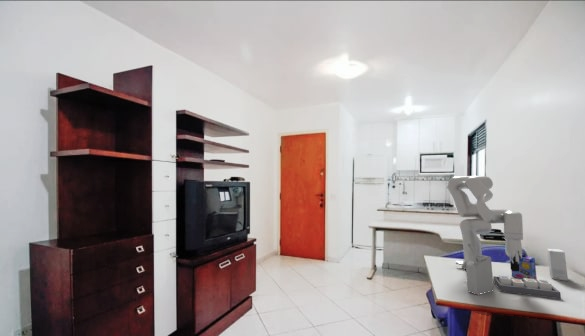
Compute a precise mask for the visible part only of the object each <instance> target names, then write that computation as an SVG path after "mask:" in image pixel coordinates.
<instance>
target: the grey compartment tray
mask: <svg viewBox="0 0 585 336" xmlns="http://www.w3.org/2000/svg"><path fill="white" fill-rule="evenodd" d="M492 277H493V283H494V282H495V283H494V284H495V285H497V286H498V287H497V286H496V287H497V288H498V290H499V289H500V290H499V292H503V291H505V292H504V293H512V294H521V295H528V296H536V297H542V298H544V297H545V298H551V299H552V298H553V299H559V300H561V299H562V296H561V292H560V291H559V290H558V289H557V288H556V287H554V286H553V285H552V290H546V289H541V288H540V287H539V286H538V288H529V287H527V286H526V285H525V284H524V286H525V287H518V286H515V285H514V284H513V283H512V282H511V285H504V284H501V283H500V282H499V276H495V275H494V276H493V275H492ZM509 278H510V279H517V280H522V281H523V282H524V279H521V278H516V277H514V278H513V277H509Z"/></svg>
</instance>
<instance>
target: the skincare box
mask: <svg viewBox="0 0 585 336" xmlns="http://www.w3.org/2000/svg"><path fill="white" fill-rule="evenodd" d="M546 250H547V259H548V260H547V261H548V268H549V275H550V277H551V278H552V279H553V280H559V281H566V282H568V281H569V277H568V269H567V262H566V252H565V251H564V250H562V249H558V248H546Z"/></svg>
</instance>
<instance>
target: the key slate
mask: <svg viewBox="0 0 585 336" xmlns="http://www.w3.org/2000/svg"><path fill="white" fill-rule="evenodd" d="M498 277H499V282H500V283H501V284H504V285H511V279H510V278H511V277H509V275H498Z"/></svg>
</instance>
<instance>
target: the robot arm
mask: <svg viewBox="0 0 585 336" xmlns="http://www.w3.org/2000/svg"><path fill="white" fill-rule="evenodd" d="M493 185H494V183H493V180H492V178H490V177H489V176H486V175H482V176H481V175H479V176H478V175H466V176H465V175H462V176H460V175H459V176H453V177H451V178H449V180H448V183H447V186H448V187H447V188H448V192H449V193H450V195H451V196H452V199H453V201H454V205H455V207H456V211H457V213H458V215H459V216H460V217H461V218H466V219H463V220H461V221H460V223H459V229H460V233H461V236H462V247H463V248H462V249H463V260H461V261H459V260H455V264H456V265H459V266H461V269H463V268H464V269H466V265H467V263H468V262H469V261H471V260H472V257H473V253H472V251H471V249H470V248H469V246H468V244H470V245H471V247H472V248H473V249H474V252H475V256H477V255H483V254H482V244H481V240H480V239H481V238H479V236H478V235H485V234H486V235H487V234H489V233H491V231H492V227H493V226H492V224H503V231H504V232H503V235H504V237H503V238H505V252H504V253H505V254H506V256H507V257H509V260H510V265H509V266H510V270H512V271H518V272H519V259H522V255H523V254H522V253H523V248H522V247H523V246H522V241H523V240H524V231H523V229H524V227H523V215H522V213H521V212H519V211H511V210H509V209H504V208H503V209H490V207H488V206H487V204H486V202H489V201H490V200H491V199H492V198H493V196H494V194H493V192H492V191H491V189H492V188H493ZM463 190H469V192H471V195H473V196H474V198H475V199H476V202H471V201H470V199H469V196H468V194H467V193H466V192H465V191H463ZM464 269H463V270H464ZM512 271H511V272H512Z"/></svg>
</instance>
